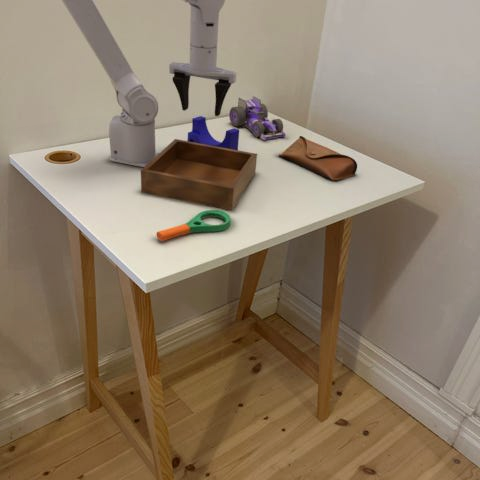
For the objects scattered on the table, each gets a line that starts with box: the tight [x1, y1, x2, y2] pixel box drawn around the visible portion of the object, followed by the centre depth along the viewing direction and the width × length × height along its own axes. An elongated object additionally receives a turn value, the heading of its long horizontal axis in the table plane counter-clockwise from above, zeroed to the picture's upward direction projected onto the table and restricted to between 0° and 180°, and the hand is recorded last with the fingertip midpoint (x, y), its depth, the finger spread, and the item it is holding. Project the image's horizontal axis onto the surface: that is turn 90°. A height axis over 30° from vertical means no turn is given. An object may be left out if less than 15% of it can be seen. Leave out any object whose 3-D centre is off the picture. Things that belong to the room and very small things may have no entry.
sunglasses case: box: [278, 135, 358, 181], centre depth 121 cm, size 18×7×7 cm, turn 44°
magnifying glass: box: [155, 209, 231, 242], centre depth 93 cm, size 15×6×2 cm, turn 131°
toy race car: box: [228, 95, 286, 142], centre depth 135 cm, size 10×15×6 cm, turn 33°
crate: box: [140, 138, 258, 211], centre depth 108 cm, size 19×19×5 cm
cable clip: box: [187, 115, 240, 151], centre depth 122 cm, size 12×4×6 cm, turn 51°
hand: (201, 112), depth 116 cm, fingers open, 7 cm apart
